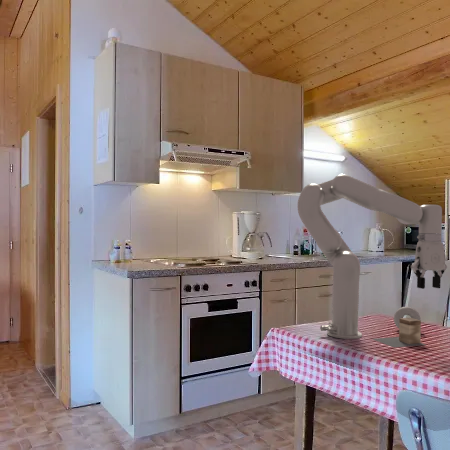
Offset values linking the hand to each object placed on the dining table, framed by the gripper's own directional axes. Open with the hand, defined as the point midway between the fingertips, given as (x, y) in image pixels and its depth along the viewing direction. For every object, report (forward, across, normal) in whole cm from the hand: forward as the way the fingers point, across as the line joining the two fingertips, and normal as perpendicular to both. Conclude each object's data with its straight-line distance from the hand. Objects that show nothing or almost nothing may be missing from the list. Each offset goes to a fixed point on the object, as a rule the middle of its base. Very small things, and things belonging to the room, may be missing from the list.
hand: (428, 287), depth 164 cm
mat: (+20, -12, +1) cm, 23 cm away
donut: (+20, +4, +15) cm, 25 cm away
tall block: (+19, -8, 0) cm, 21 cm away
